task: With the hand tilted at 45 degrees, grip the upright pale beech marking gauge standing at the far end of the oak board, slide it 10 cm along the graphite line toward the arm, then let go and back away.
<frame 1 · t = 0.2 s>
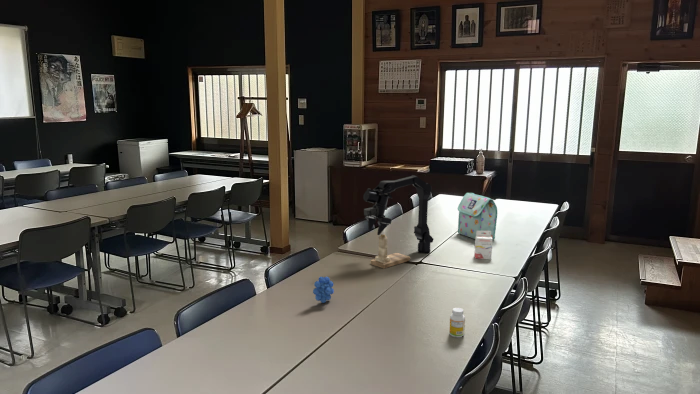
hand: (373, 233, 269), 15 cm above the table, tool tilted 15°, fingers open, 9 cm apart
lunch bag: (475, 236, 320), on the table
supplement bottle: (456, 334, 187), on the table
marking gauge: (382, 260, 265), point 2 cm above the table, touching oak board
grapes: (325, 303, 215), on the table
oak board: (390, 262, 269), on the table
ink cartridge box: (482, 258, 277), on the table
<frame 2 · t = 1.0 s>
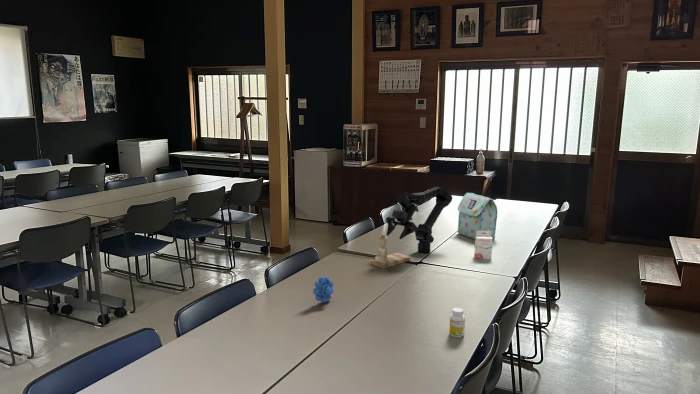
hand: (393, 237, 268), 13 cm above the table, tool tilted 45°, fingers open, 9 cm apart
nothing on the table moved.
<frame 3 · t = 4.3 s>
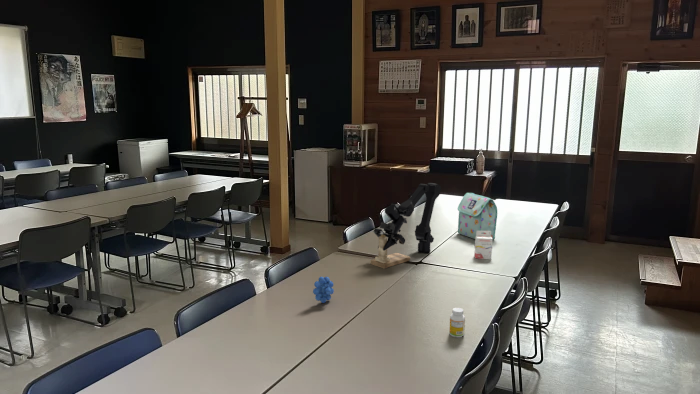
hand: (381, 249, 263), 9 cm above the table, tool tilted 45°, fingers closed on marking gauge, 3 cm apart
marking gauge: (382, 260, 265), point 2 cm above the table, touching gripper, oak board
everything else where it was.
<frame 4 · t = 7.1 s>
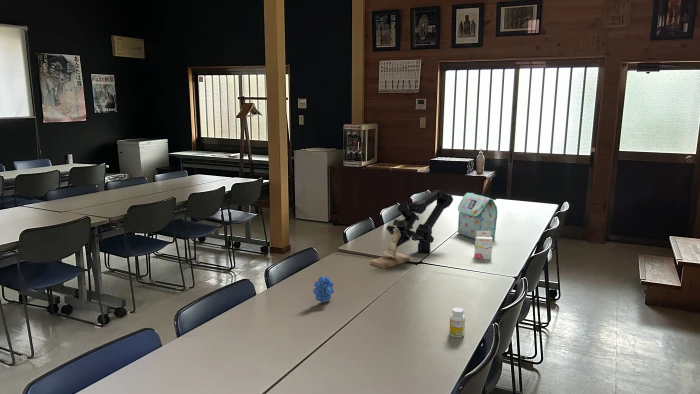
hand: (394, 245, 269), 8 cm above the table, tool tilted 45°, fingers closed on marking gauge, 3 cm apart
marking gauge: (390, 256, 269), point 3 cm above the table, tilted 24°, touching gripper
everything else where it was.
when the fingers open (8 cm above the table, at t = 7.8 s): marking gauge drops 1 cm, resting on oak board.
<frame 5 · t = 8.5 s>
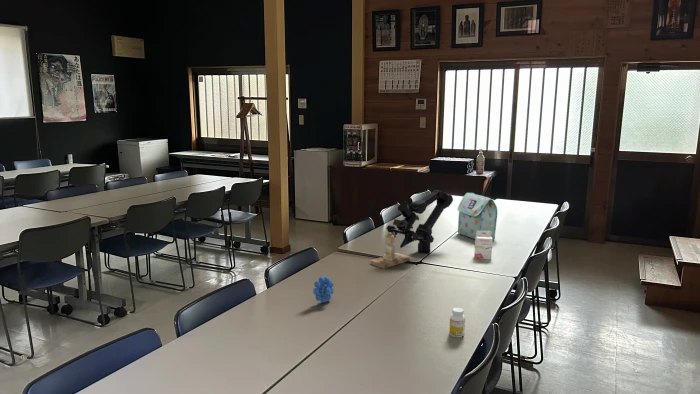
hand: (394, 245, 269), 9 cm above the table, tool tilted 45°, fingers open, 9 cm apart
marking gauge: (390, 258, 269), point 2 cm above the table, touching oak board
everything else where it was.
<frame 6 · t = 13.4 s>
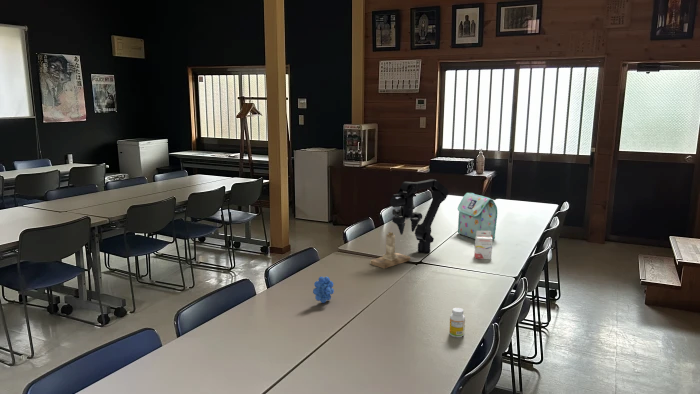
hand: (407, 233, 278), 13 cm above the table, tool pointing down, fingers open, 9 cm apart
nothing on the table moved.
at the end: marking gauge 4.0 cm from the target spot, point 2.0 cm above the table; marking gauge tilted 0°; the gripper is holding nothing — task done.
